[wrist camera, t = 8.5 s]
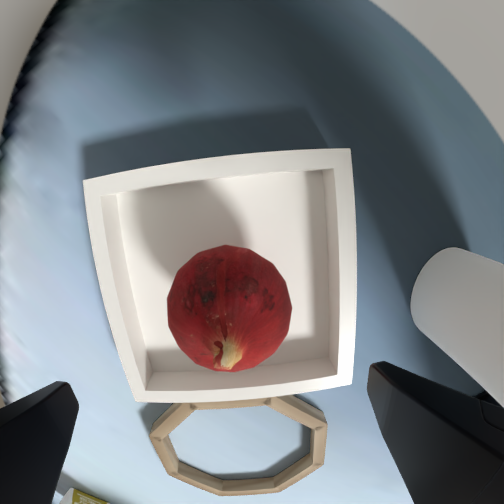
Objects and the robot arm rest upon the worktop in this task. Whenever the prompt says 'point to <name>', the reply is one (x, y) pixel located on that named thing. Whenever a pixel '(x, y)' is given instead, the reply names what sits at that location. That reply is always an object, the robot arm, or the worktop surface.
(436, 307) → the cylindrical container
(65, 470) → the worktop surface
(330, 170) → the tray
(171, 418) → the ring collar
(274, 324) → the onion
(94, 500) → the juice carton
